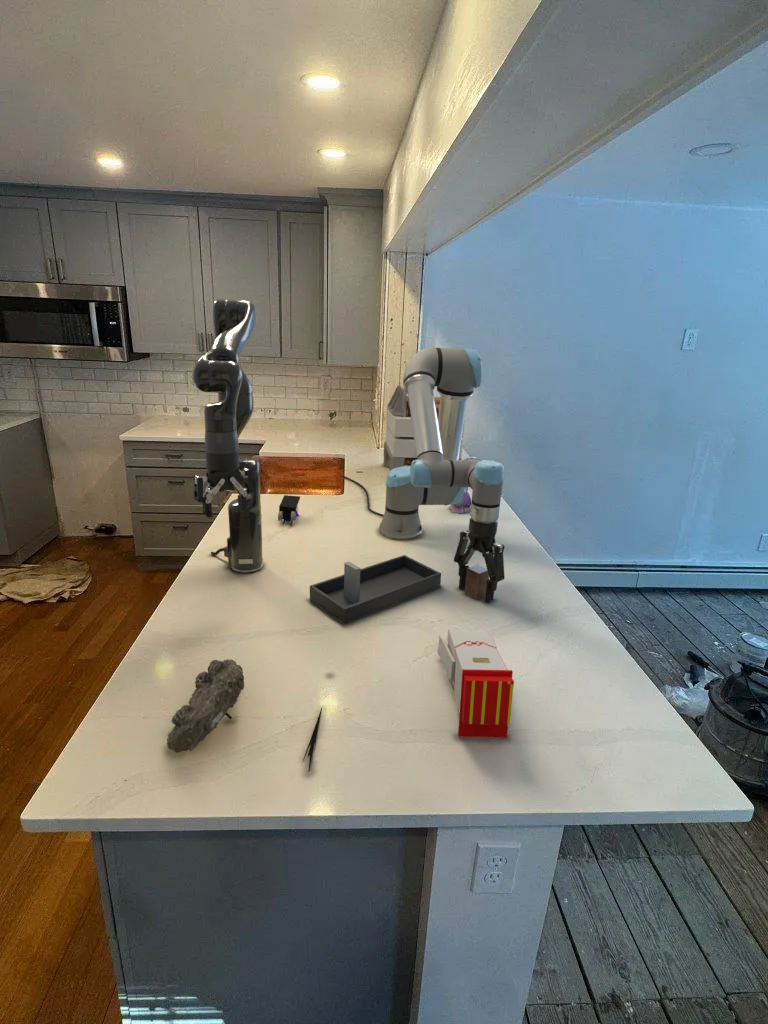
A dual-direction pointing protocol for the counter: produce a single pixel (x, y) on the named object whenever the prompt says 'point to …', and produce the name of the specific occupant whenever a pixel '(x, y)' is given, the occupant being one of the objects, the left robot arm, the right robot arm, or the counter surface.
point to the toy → (478, 682)
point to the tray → (373, 587)
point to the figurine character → (288, 509)
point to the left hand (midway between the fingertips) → (225, 513)
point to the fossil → (206, 705)
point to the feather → (313, 740)
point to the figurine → (462, 503)
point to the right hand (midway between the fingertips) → (475, 593)
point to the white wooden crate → (402, 431)
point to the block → (476, 581)
